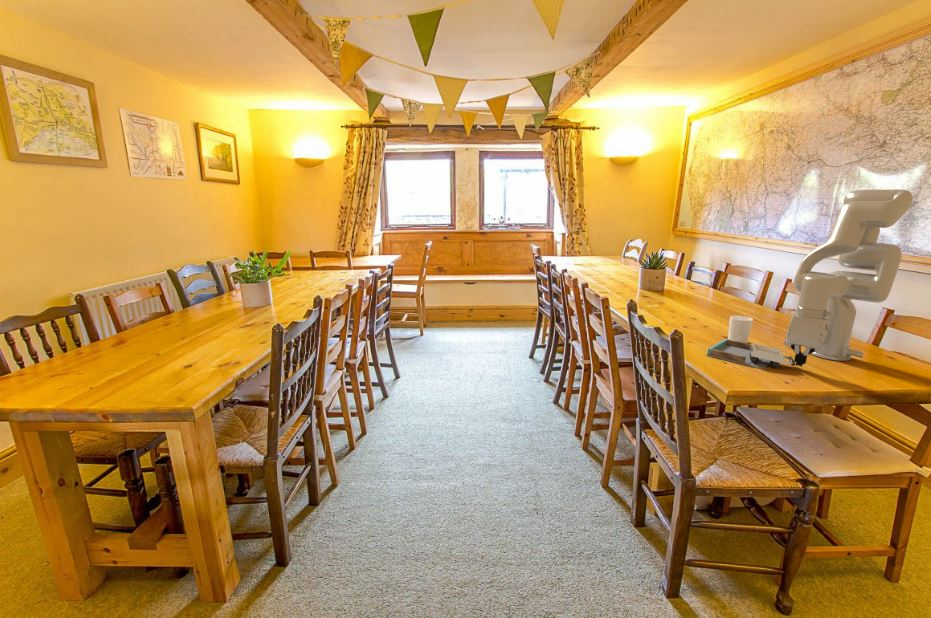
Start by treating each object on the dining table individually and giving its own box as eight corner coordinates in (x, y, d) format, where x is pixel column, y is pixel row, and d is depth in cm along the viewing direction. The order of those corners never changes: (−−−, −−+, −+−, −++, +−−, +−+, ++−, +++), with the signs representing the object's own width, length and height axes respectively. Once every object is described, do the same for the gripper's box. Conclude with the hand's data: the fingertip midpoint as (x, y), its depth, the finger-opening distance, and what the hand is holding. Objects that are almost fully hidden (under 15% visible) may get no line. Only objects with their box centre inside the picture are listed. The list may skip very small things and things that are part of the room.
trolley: (789, 365, 151) (794, 352, 149) (792, 373, 144) (797, 360, 142) (747, 355, 156) (751, 342, 155) (748, 362, 150) (753, 349, 148)
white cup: (752, 345, 170) (756, 321, 168) (730, 343, 172) (734, 319, 169) (743, 339, 178) (748, 316, 175) (723, 337, 179) (727, 314, 177)
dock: (778, 356, 158) (779, 350, 157) (763, 369, 146) (764, 362, 145) (724, 344, 171) (725, 338, 170) (706, 355, 158) (707, 348, 158)
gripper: (841, 315, 138) (829, 368, 143) (785, 307, 149) (776, 356, 153) (837, 319, 133) (825, 374, 138) (780, 310, 144) (770, 361, 148)
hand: (799, 364), depth 146 cm, fingers closed
